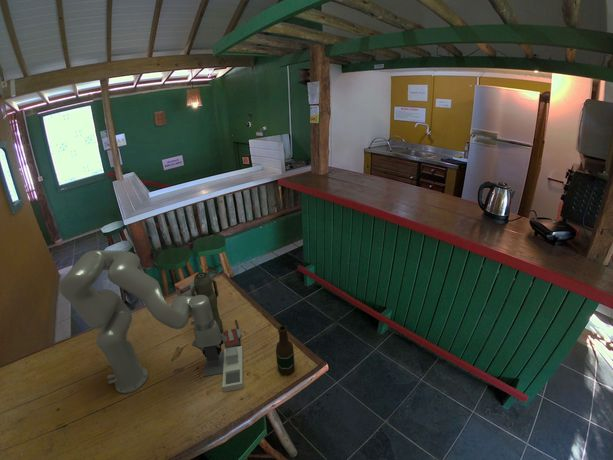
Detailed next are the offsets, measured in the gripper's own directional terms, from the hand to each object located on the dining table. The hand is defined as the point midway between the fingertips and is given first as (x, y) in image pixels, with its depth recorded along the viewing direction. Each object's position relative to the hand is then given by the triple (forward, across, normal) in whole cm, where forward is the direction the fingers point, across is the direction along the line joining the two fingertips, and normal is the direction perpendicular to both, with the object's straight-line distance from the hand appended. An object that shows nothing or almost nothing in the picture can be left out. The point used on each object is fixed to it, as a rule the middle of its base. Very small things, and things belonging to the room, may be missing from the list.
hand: (212, 353), depth 138 cm
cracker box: (+7, -13, +39) cm, 42 cm away
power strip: (+7, +8, -5) cm, 12 cm away
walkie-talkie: (+8, +7, +15) cm, 18 cm away
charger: (+2, 0, 0) cm, 2 cm away
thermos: (+7, -2, +20) cm, 21 cm away
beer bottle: (+7, +31, -10) cm, 33 cm away
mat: (+7, 0, 0) cm, 7 cm away
